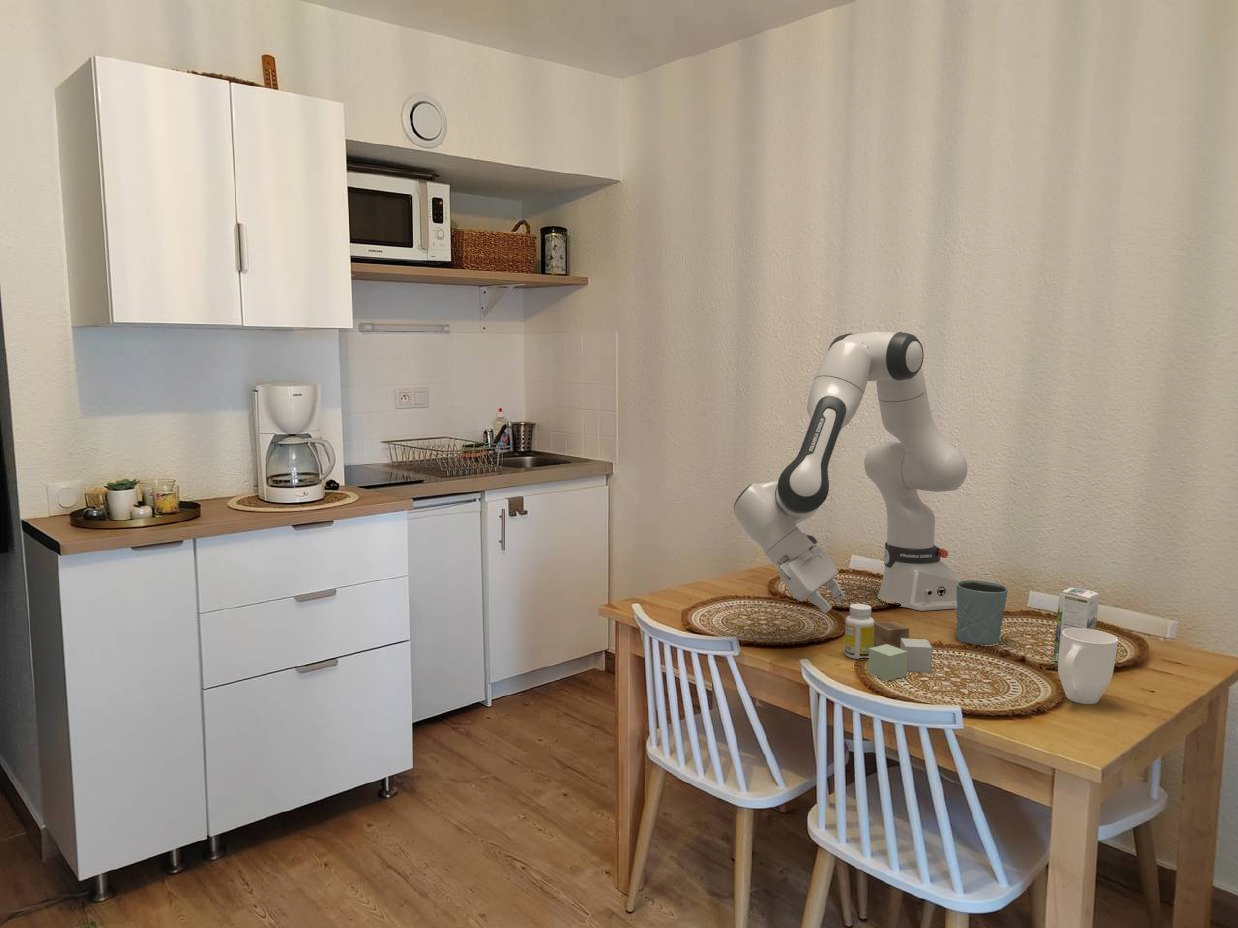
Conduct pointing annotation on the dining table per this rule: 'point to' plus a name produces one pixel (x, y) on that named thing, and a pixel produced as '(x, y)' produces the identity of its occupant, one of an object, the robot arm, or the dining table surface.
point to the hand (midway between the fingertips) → (835, 604)
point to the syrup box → (1075, 612)
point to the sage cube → (887, 662)
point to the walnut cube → (889, 634)
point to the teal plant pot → (980, 611)
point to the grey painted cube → (917, 654)
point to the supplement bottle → (859, 631)
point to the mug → (1086, 663)
